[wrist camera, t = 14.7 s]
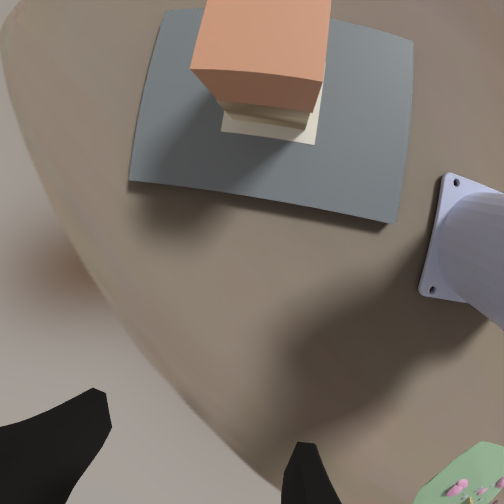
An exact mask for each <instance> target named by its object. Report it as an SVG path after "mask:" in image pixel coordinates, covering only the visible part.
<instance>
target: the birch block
mask: <svg viewBox="0 0 504 504" xmlns="http://www.w3.org/2000/svg"><path fill="white" fill-rule="evenodd" d="M217 102H218V104H219V105H220V106H221V107H222V108H223V109H224V110H225V111H226V113H227V114H228V115H229V116H230V117H231V118H232V119H233V120H238V121H247V122H255V123H263V124H270V125H277V126H284V127H290V128H296V129H302V130H305V129H306V126H307V122H308V119H309V116H310V113H309V112H304V111H298V110H291V109H285V108H278V107H271V106H263V105H254V104H245V103H235V102H222V101H218V100H217Z"/></svg>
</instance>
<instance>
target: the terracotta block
mask: <svg viewBox="0 0 504 504" xmlns="http://www.w3.org/2000/svg"><path fill="white" fill-rule="evenodd" d="M330 10H331V0H207V4H206V7H205V11H204V14H203V18H202V21H201V25H200V29H199V33H198V36H197V40H196V44H195V49H194V53H193V57H192V61H191V66H190V70H191V71H192V72H193V73H194V74H195V75H196V76H197V77H198V79H199V80H200V81H201V82H202V83H203V84H204V85H205V86H206V87H207V89H208V90H209V91H210V92H211V93H212V94H213V95H214V97H215V98H216V99H217V100H218V101H222V102H235V103H245V104H254V105H263V106H271V107H278V108H285V109H291V110H298V111H304V112H309V113H313V110H314V107H315V104H316V101H317V98H318V95H319V92H320V89H321V86H322V83H323V77H324V69H325V60H326V51H327V41H328V31H329V21H330Z"/></svg>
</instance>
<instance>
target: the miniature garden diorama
mask: <svg viewBox="0 0 504 504" xmlns="http://www.w3.org/2000/svg"><path fill="white" fill-rule="evenodd" d="M503 487H504V447H503V446H500V445H496V444H493V443H489V442H483V441H481V442H480V443H478V444H476V445H474V446H472V447H471V448H469V449H468V450H466V451H465V452H464V453H462V454H461V455H460V456H459V457H457V458H456V459H455V460H454V461H452V462H451V463H450V464H449V465H448V466H447V467H445V468H444V469H443V470H442V471H441V472H439V473H438V474H437V475H436V476H435V477H434V478H432V479H431V480H430V481H429V482H428V483H427V484H425V485H424V486H423V487H422V488H421V489H420V491H419V493H418V494H417V496H416V498H415V500H414V502H413V504H488V503H489V502H490V501H491V500H492V499H493V498H494V497H495V496H496V495H497V494H498V492H499V491H500V490H501V489H502V488H503ZM497 502H498V500H496V501H495V502H494V503H493V504H497Z"/></svg>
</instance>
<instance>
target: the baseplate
mask: <svg viewBox="0 0 504 504" xmlns="http://www.w3.org/2000/svg"><path fill="white" fill-rule="evenodd" d="M204 11H205V8H197V9H180V10H169V11H166V12H165V15H164V18H163V21H162V24H161V27H160V30H159V34H158V37H157V41H156V44H155V48H154V51H153V55H152V59H151V62H150V66H149V70H148V74H147V79H146V83H145V87H144V92H143V96H142V101H141V106H140V111H139V116H138V121H137V127H136V132H135V138H134V145H133V151H132V158H131V165H130V173H129V180H131V181H140V182H149V183H158V184H166V185H174V186H182V187H190V188H197V189H204V190H211V191H218V192H225V193H231V194H238V195H244V196H251V197H257V198H263V199H269V200H274V201H280V202H286V203H291V204H297V205H302V206H308V207H313V208H318V209H323V210H328V211H333V212H338V213H343V214H348V215H353V216H358V217H362V218H367V219H372V220H376V221H381V222H385V223H389V224H394V225H395V223H396V218H397V213H398V208H399V203H400V197H401V191H402V185H403V179H404V172H405V165H406V158H407V150H408V141H409V131H410V121H411V108H412V90H413V41H410V40H408V39H405V38H402V37H399V36H396V35H393V34H390V33H386V32H383V31H380V30H376V29H373V28H369V27H365V26H361V25H357V24H353V23H349V22H345V21H340V20H335V19H330V21H329V31H328V41H327V51H326V60H325V69H324V77H323V83H322V86H321V89H320V92H319V95H318V98H317V101H316V104H315V107H314V110H313V113H310V116H309V119H308V122H307V126H306V129H305V130H302V129H296V128H290V127H284V126H277V125H270V124H263V123H255V122H247V121H238V120H233V119H232V118H231V117H230V116H229V115H228V114H227V113H226V111H225V110H224V109H223V108H222V107H221V106H220V105H219V104H218V102H217V99H216V98H215V97H214V95H213V94H212V93H211V92H210V91H209V90H208V89H207V87H206V86H205V85H204V84H203V83H202V82H201V81H200V80H199V79H198V77H197V76H196V75H195V74H194V73H193V72H192V71H191V70H190V66H191V61H192V57H193V53H194V49H195V44H196V40H197V36H198V33H199V29H200V25H201V21H202V18H203V14H204Z"/></svg>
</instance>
